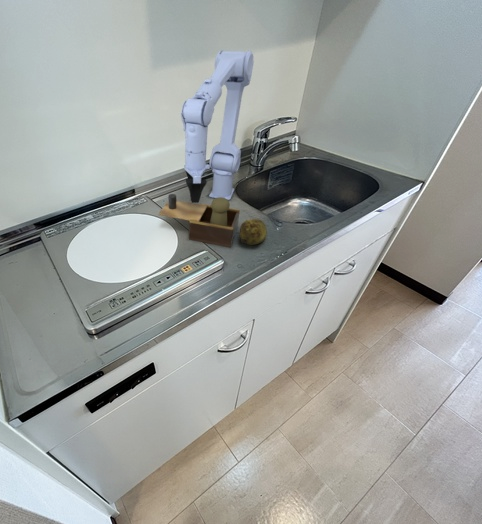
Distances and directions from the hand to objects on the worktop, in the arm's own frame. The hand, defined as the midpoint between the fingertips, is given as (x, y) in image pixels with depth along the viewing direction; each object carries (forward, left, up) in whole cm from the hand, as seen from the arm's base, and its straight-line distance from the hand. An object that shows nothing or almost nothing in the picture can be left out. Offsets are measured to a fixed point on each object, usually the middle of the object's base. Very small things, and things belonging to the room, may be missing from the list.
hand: (194, 196), depth 84 cm
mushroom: (+3, +9, -10) cm, 13 cm away
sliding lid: (+2, -3, -4) cm, 6 cm away
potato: (+3, +19, -10) cm, 22 cm away
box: (+2, +7, -10) cm, 13 cm away
